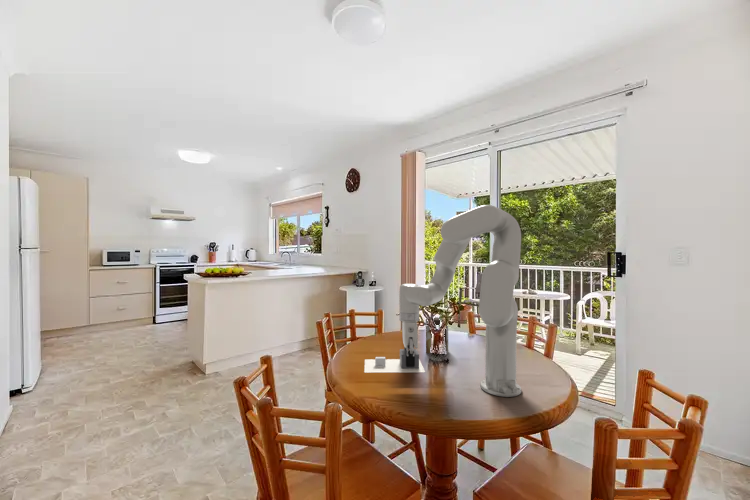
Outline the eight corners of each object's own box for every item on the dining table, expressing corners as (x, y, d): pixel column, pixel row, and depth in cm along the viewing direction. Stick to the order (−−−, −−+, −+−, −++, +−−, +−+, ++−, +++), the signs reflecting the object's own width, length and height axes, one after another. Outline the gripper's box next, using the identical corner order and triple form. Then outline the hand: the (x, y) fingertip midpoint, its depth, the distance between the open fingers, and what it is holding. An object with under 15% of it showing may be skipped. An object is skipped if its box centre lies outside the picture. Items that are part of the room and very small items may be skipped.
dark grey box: (419, 368, 124) (419, 354, 124) (401, 368, 124) (401, 354, 124) (416, 362, 131) (416, 348, 131) (399, 362, 131) (399, 348, 131)
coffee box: (449, 354, 145) (449, 317, 145) (446, 359, 139) (447, 320, 139) (428, 352, 149) (428, 316, 148) (425, 356, 142) (425, 319, 142)
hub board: (425, 376, 121) (425, 363, 121) (364, 376, 120) (364, 364, 120) (419, 362, 135) (419, 351, 135) (364, 363, 134) (364, 351, 134)
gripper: (422, 321, 119) (422, 371, 119) (415, 311, 136) (415, 355, 136) (401, 321, 119) (401, 371, 119) (397, 311, 136) (397, 355, 136)
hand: (409, 362), depth 128 cm, fingers closed on dark grey box, 6 cm apart
